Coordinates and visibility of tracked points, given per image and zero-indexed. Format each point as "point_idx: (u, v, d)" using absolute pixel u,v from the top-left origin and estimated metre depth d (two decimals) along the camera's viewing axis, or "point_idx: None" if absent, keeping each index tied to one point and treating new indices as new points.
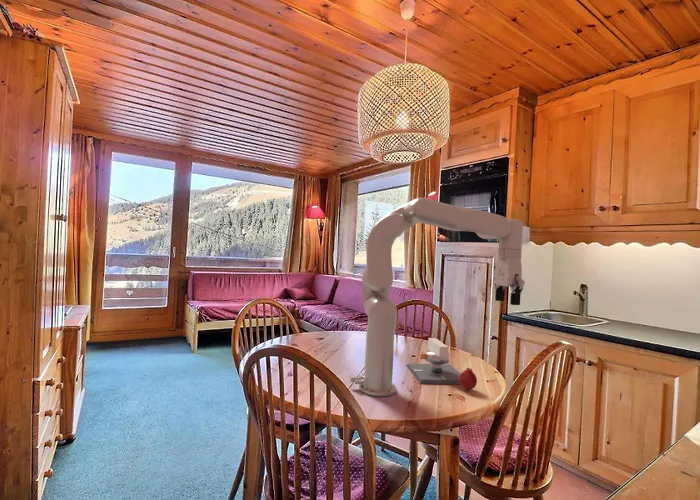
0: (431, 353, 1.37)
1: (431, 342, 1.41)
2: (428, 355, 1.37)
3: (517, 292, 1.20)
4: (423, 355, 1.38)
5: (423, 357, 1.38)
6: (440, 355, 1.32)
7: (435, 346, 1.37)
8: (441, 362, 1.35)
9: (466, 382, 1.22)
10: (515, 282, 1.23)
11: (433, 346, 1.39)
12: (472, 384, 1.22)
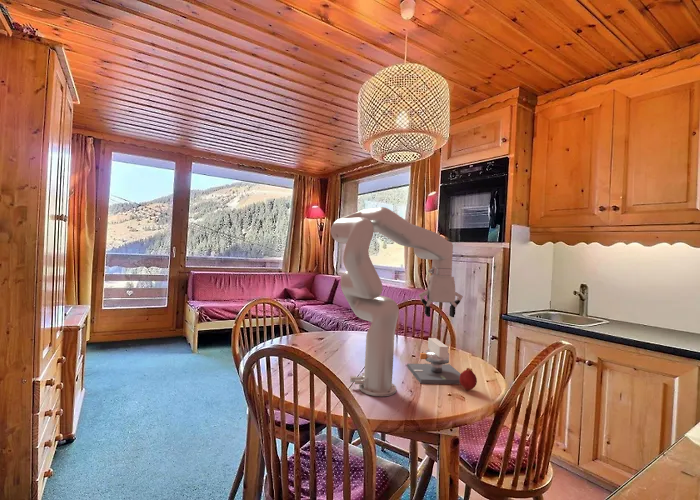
0: (431, 353, 1.37)
1: (431, 342, 1.41)
2: (428, 355, 1.37)
3: None
4: (423, 355, 1.38)
5: (423, 357, 1.38)
6: (440, 355, 1.32)
7: (435, 346, 1.37)
8: (441, 362, 1.35)
9: (466, 382, 1.22)
10: None
11: (433, 346, 1.39)
12: (472, 384, 1.22)
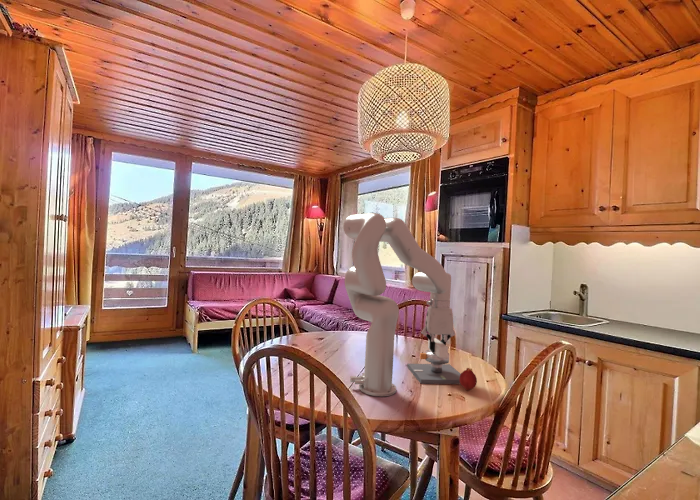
0: (431, 353, 1.37)
1: None
2: (428, 355, 1.37)
3: None
4: (423, 355, 1.38)
5: (423, 357, 1.38)
6: (440, 355, 1.32)
7: (435, 346, 1.37)
8: (441, 362, 1.35)
9: (466, 382, 1.22)
10: None
11: None
12: (472, 384, 1.22)
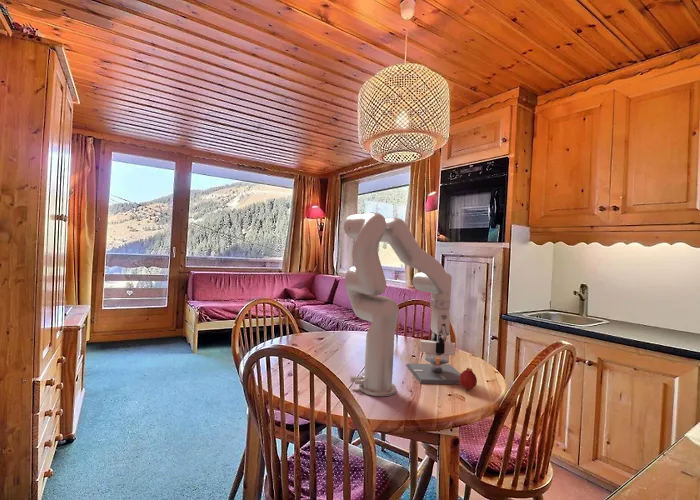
0: (441, 355, 1.36)
1: (431, 344, 1.38)
2: (442, 357, 1.35)
3: None
4: (439, 360, 1.33)
5: None
6: (454, 353, 1.37)
7: None
8: None
9: (466, 382, 1.22)
10: None
11: None
12: (472, 384, 1.22)
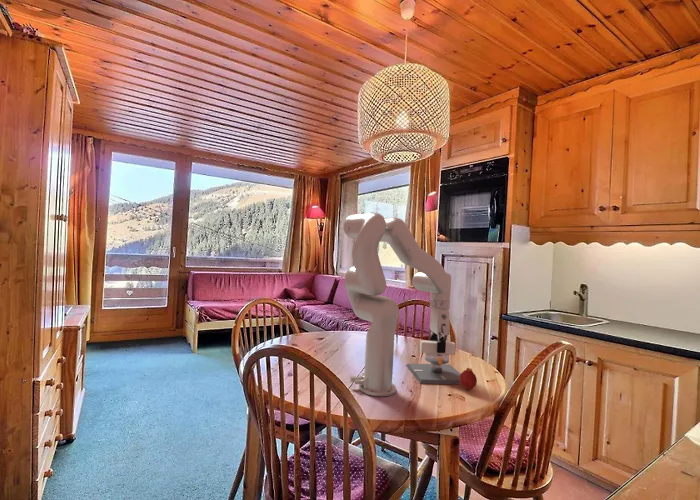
0: (442, 354, 1.36)
1: (431, 344, 1.38)
2: (444, 357, 1.35)
3: None
4: None
5: None
6: None
7: None
8: None
9: (466, 382, 1.22)
10: None
11: None
12: (472, 384, 1.22)
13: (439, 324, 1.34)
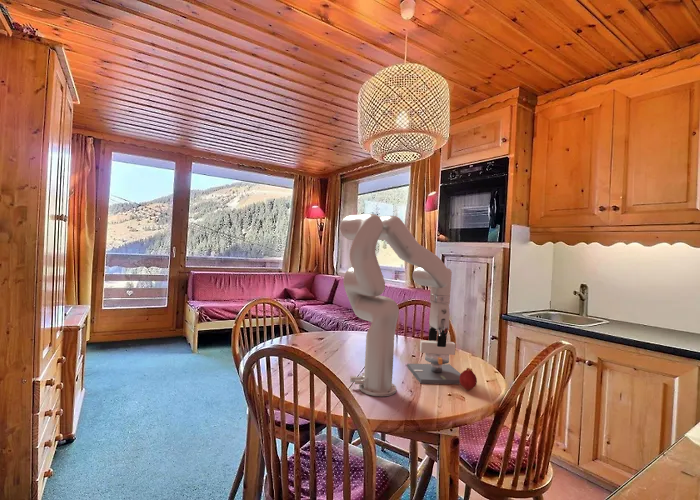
0: (442, 354, 1.36)
1: (431, 344, 1.38)
2: (444, 357, 1.35)
3: None
4: None
5: None
6: None
7: None
8: None
9: (466, 382, 1.22)
10: None
11: (437, 348, 1.37)
12: (472, 384, 1.22)
13: (439, 319, 1.34)
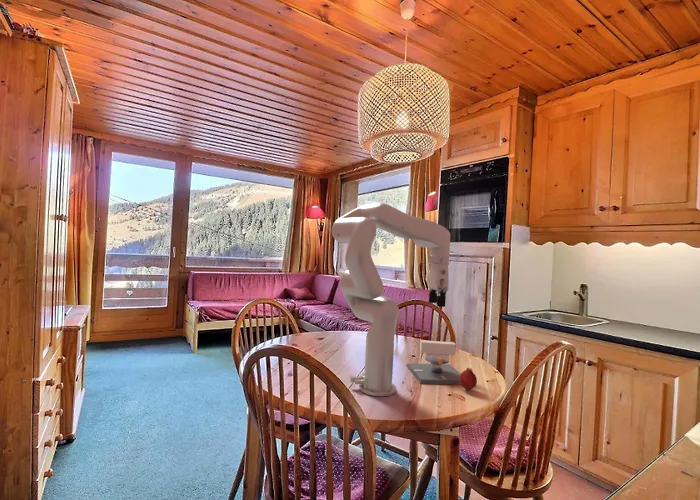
0: (442, 354, 1.36)
1: (431, 344, 1.38)
2: (444, 357, 1.35)
3: None
4: None
5: None
6: None
7: (442, 346, 1.37)
8: None
9: (466, 382, 1.22)
10: None
11: (437, 348, 1.37)
12: (472, 384, 1.22)
13: (438, 279, 1.36)
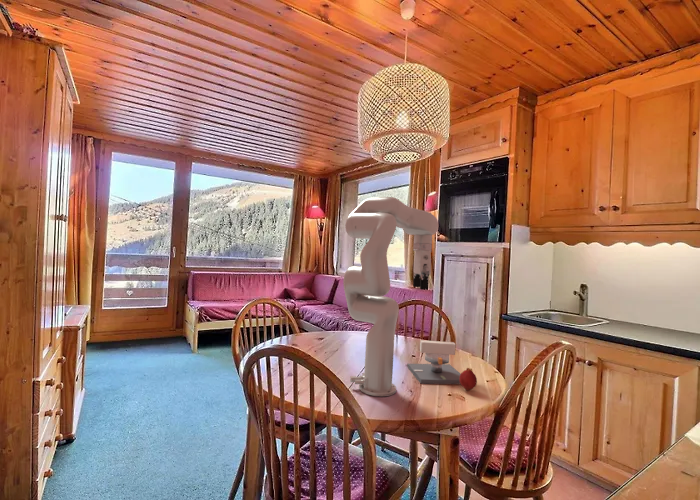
0: (442, 354, 1.36)
1: (431, 344, 1.38)
2: (444, 357, 1.35)
3: None
4: None
5: None
6: None
7: (442, 346, 1.37)
8: None
9: (466, 382, 1.22)
10: None
11: (437, 348, 1.37)
12: (472, 384, 1.22)
13: (421, 264, 1.47)
